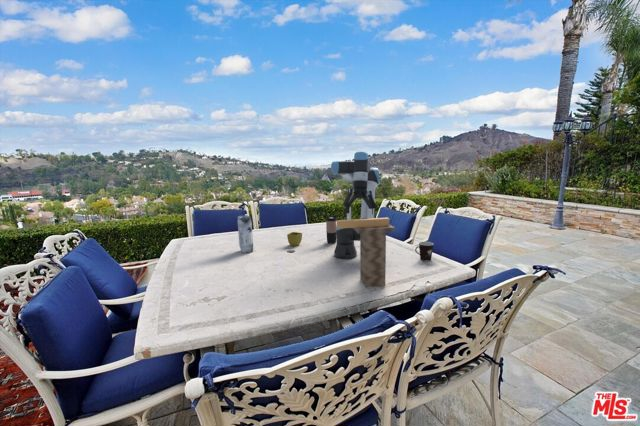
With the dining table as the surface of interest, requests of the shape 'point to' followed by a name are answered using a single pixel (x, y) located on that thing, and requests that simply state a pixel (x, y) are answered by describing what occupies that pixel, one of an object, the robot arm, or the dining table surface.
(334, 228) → the travel mug
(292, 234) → the flower pot
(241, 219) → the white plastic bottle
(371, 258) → the walnut stand
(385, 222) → the brown block
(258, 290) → the dining table surface
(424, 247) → the coffee mug
